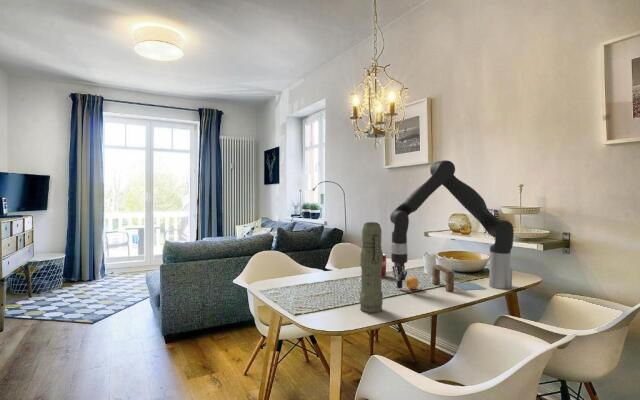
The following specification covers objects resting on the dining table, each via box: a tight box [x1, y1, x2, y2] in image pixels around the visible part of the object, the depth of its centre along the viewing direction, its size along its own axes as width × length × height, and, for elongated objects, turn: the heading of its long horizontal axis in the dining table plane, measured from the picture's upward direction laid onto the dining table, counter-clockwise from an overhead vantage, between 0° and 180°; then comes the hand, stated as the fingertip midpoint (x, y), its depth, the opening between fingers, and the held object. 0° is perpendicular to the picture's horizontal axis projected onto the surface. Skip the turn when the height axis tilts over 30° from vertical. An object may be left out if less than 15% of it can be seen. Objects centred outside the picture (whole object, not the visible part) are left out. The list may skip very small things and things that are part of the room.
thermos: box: [359, 221, 384, 315], centre depth 143 cm, size 9×12×35 cm
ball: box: [405, 276, 420, 290], centre depth 173 cm, size 6×6×6 cm
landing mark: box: [454, 281, 488, 291], centre depth 179 cm, size 12×12×1 cm
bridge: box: [431, 264, 455, 293], centre depth 176 cm, size 3×15×10 cm, turn 10°
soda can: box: [381, 253, 387, 279], centre depth 198 cm, size 7×7×12 cm
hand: (399, 287), depth 172 cm, fingers closed
